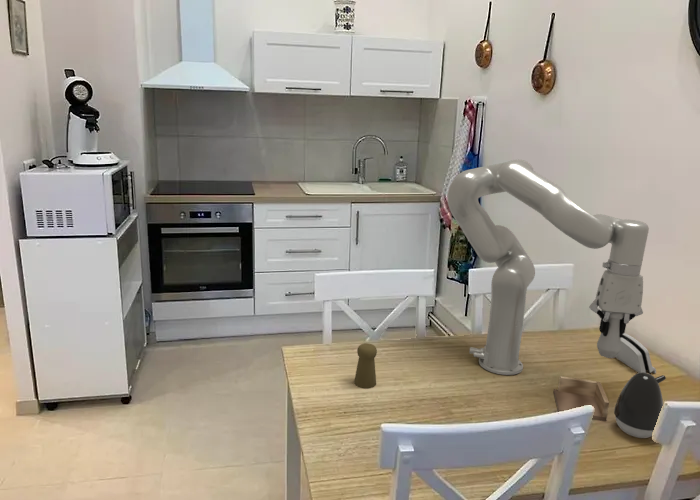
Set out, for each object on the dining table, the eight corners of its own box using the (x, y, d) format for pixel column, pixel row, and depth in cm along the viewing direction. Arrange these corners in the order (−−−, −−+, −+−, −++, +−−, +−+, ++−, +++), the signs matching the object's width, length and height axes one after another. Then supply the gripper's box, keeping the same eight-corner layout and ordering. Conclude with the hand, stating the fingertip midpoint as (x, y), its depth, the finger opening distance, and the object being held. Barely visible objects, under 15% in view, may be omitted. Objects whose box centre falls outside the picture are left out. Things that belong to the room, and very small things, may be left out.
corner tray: (558, 413, 135) (561, 395, 134) (553, 392, 146) (556, 375, 144) (605, 421, 133) (609, 402, 132) (597, 399, 143) (600, 381, 142)
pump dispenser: (670, 442, 125) (683, 382, 122) (631, 446, 123) (643, 385, 119) (638, 418, 135) (650, 362, 131) (602, 421, 133) (612, 364, 129)
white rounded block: (657, 374, 159) (653, 345, 156) (643, 380, 159) (639, 351, 155) (618, 349, 175) (614, 323, 172) (605, 355, 174) (601, 328, 171)
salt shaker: (598, 357, 142) (606, 310, 139) (593, 349, 147) (600, 304, 145) (622, 360, 141) (630, 313, 138) (616, 352, 146) (624, 306, 144)
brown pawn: (379, 380, 147) (382, 343, 145) (371, 390, 142) (373, 352, 139) (359, 375, 150) (361, 338, 147) (350, 385, 144) (352, 347, 142)
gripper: (595, 270, 135) (583, 337, 140) (664, 275, 134) (649, 343, 139) (586, 261, 142) (574, 326, 147) (650, 266, 141) (637, 332, 146)
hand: (611, 334), depth 143 cm, fingers closed on salt shaker, 3 cm apart
